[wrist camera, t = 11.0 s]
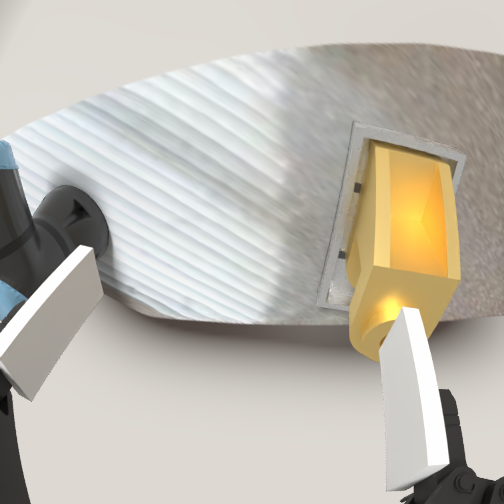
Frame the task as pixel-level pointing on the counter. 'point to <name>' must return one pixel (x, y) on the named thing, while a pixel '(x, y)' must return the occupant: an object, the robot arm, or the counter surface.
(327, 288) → the tray
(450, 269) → the yellow mounting bracket
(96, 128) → the counter surface
